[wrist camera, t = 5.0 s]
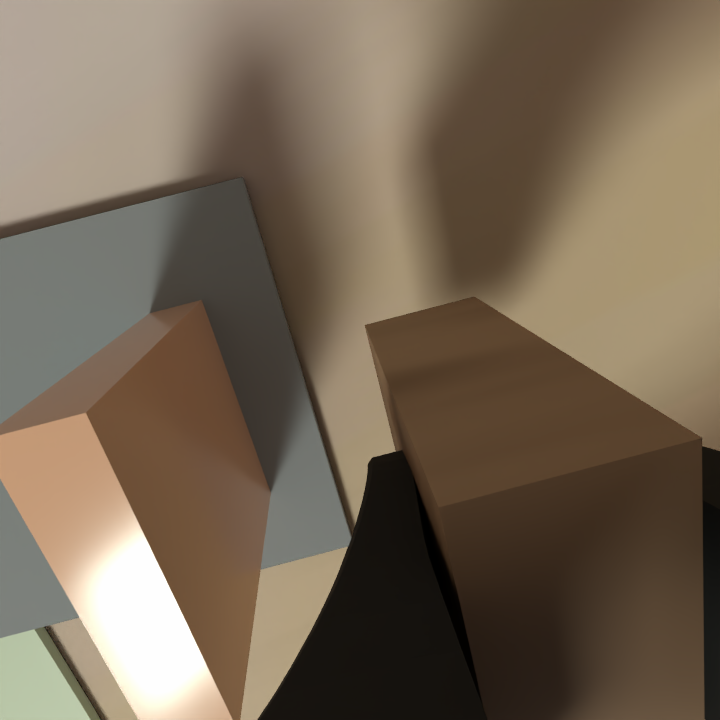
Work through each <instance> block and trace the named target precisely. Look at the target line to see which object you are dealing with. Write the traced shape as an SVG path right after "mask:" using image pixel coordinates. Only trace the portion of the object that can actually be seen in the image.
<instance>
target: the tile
mask: <svg viewBox="0 0 720 720" xmlns="http://www.w3.org/2000/svg"><path fill="white" fill-rule="evenodd" d="M0 479H1V481H2V483H3V485H4V486H5V488H6V490H7V492H8V493H9V495H10V497H11V499H12V500H13V502H14V504H15V506H16V507H17V509H18V511H19V513H20V514H21V516H22V518H23V520H24V521H25V523H26V525H27V526H28V528H29V530H30V532H31V533H32V535H33V537H34V539H35V540H36V542H37V544H38V546H39V547H40V549H41V551H42V553H43V554H44V556H45V558H46V560H47V561H48V563H49V565H50V567H51V568H52V570H53V572H54V573H55V575H56V577H57V579H58V580H59V582H60V584H61V586H62V587H63V589H64V591H65V593H66V594H67V596H68V598H69V600H70V601H71V603H72V605H73V607H74V608H75V610H76V612H77V614H78V615H79V617H80V619H81V621H82V622H83V624H84V626H85V627H86V629H87V631H88V633H89V634H90V636H91V638H92V640H93V641H94V643H95V645H96V647H97V648H98V650H99V652H100V654H101V655H102V657H103V659H104V661H105V662H106V664H107V666H108V668H109V669H110V671H111V673H112V674H113V676H114V678H115V680H116V681H117V683H118V685H119V687H120V688H121V690H122V692H123V694H124V695H125V697H126V699H127V701H128V702H129V704H130V706H131V708H132V709H133V711H134V713H135V715H136V716H137V718H138V720H240V717H241V709H242V702H243V695H244V687H245V680H246V672H247V665H248V658H249V650H250V643H251V636H252V628H253V621H254V614H255V606H256V599H257V591H258V584H259V577H260V569H261V562H262V555H263V547H264V540H265V533H266V525H267V518H268V510H269V503H270V496H271V492H270V489H269V486H268V484H267V481H266V478H265V475H264V472H263V470H262V467H261V464H260V461H259V458H258V456H257V453H256V450H255V447H254V444H253V442H252V439H251V436H250V433H249V431H248V428H247V425H246V422H245V419H244V417H243V414H242V411H241V408H240V405H239V403H238V400H237V397H236V394H235V391H234V389H233V386H232V383H231V380H230V377H229V375H228V372H227V369H226V366H225V364H224V361H223V358H222V355H221V352H220V350H219V347H218V344H217V341H216V338H215V336H214V333H213V330H212V327H211V324H210V322H209V319H208V316H207V313H206V310H205V308H204V305H203V302H202V300H199V301H195V302H191V303H187V304H184V305H180V306H176V307H172V308H168V309H164V310H160V311H156V312H153V313H149V314H148V315H147V316H145V317H144V318H143V319H141V320H140V321H139V322H137V323H136V324H134V325H133V326H132V327H130V328H129V329H128V330H126V331H125V332H124V333H122V334H121V335H120V336H118V337H117V338H116V339H114V340H113V341H112V342H110V343H109V344H108V345H106V346H105V347H104V348H102V349H101V350H100V351H98V352H97V353H96V354H94V355H93V356H91V357H90V358H89V359H87V360H86V361H85V362H83V363H82V364H81V365H79V366H78V367H77V368H75V369H74V370H73V371H71V372H70V373H69V374H67V375H66V376H65V377H63V378H62V379H61V380H59V381H58V382H57V383H55V384H54V385H53V386H51V387H50V388H48V389H47V390H46V391H44V392H43V393H42V394H40V395H39V396H38V397H36V398H35V399H34V400H32V401H31V402H30V403H28V404H27V405H26V406H24V407H23V408H22V409H20V410H19V411H18V412H16V413H15V414H14V415H12V416H11V417H9V418H8V419H7V420H5V421H4V422H3V423H1V424H0Z"/></svg>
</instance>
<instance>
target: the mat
mask: <svg viewBox="0 0 720 720" xmlns="http://www.w3.org/2000/svg"><path fill="white" fill-rule="evenodd" d="M199 300H202V302H203V305H204V308H205V310H206V313H207V316H208V319H209V322H210V324H211V327H212V330H213V333H214V336H215V338H216V341H217V344H218V347H219V350H220V352H221V355H222V358H223V361H224V364H225V366H226V369H227V372H228V375H229V377H230V380H231V383H232V386H233V389H234V391H235V394H236V397H237V400H238V403H239V405H240V408H241V411H242V414H243V417H244V419H245V422H246V425H247V428H248V431H249V433H250V436H251V439H252V442H253V444H254V447H255V450H256V453H257V456H258V458H259V461H260V464H261V467H262V470H263V472H264V475H265V478H266V481H267V484H268V486H269V489H270V492H271V496H270V503H269V510H268V518H267V525H266V533H265V540H264V547H263V555H262V562H261V569H264V568H268V567H272V566H276V565H280V564H283V563H287V562H291V561H295V560H298V559H302V558H306V557H310V556H314V555H317V554H321V553H325V552H329V551H333V550H336V549H340V548H344V547H348V546H349V543H350V540H351V538H352V535H351V532H350V528H349V525H348V522H347V518H346V515H345V512H344V509H343V505H342V502H341V499H340V495H339V492H338V489H337V485H336V482H335V479H334V475H333V472H332V469H331V466H330V462H329V459H328V456H327V452H326V449H325V446H324V442H323V439H322V436H321V433H320V429H319V426H318V423H317V419H316V416H315V413H314V409H313V406H312V403H311V399H310V396H309V393H308V390H307V386H306V383H305V380H304V376H303V373H302V370H301V366H300V363H299V360H298V356H297V353H296V350H295V347H294V343H293V340H292V337H291V333H290V330H289V327H288V323H287V320H286V317H285V313H284V310H283V307H282V304H281V300H280V297H279V294H278V290H277V287H276V284H275V280H274V277H273V274H272V271H271V267H270V264H269V261H268V257H267V254H266V251H265V247H264V244H263V241H262V237H261V234H260V231H259V228H258V224H257V221H256V218H255V214H254V211H253V208H252V204H251V201H250V198H249V194H248V191H247V188H246V185H245V181H244V178H243V177H240V178H237V179H233V180H229V181H225V182H221V183H217V184H213V185H209V186H205V187H201V188H198V189H194V190H190V191H186V192H182V193H178V194H174V195H170V196H166V197H162V198H159V199H155V200H151V201H147V202H143V203H139V204H135V205H131V206H127V207H123V208H120V209H116V210H112V211H108V212H104V213H100V214H96V215H92V216H88V217H84V218H81V219H77V220H73V221H69V222H65V223H61V224H57V225H53V226H49V227H45V228H41V229H38V230H34V231H30V232H26V233H22V234H18V235H14V236H10V237H6V238H2V239H0V424H1V423H3V422H4V421H5V420H7V419H8V418H9V417H11V416H12V415H14V414H15V413H16V412H18V411H19V410H20V409H22V408H23V407H24V406H26V405H27V404H28V403H30V402H31V401H32V400H34V399H35V398H36V397H38V396H39V395H40V394H42V393H43V392H44V391H46V390H47V389H48V388H50V387H51V386H53V385H54V384H55V383H57V382H58V381H59V380H61V379H62V378H63V377H65V376H66V375H67V374H69V373H70V372H71V371H73V370H74V369H75V368H77V367H78V366H79V365H81V364H82V363H83V362H85V361H86V360H87V359H89V358H90V357H91V356H93V355H94V354H96V353H97V352H98V351H100V350H101V349H102V348H104V347H105V346H106V345H108V344H109V343H110V342H112V341H113V340H114V339H116V338H117V337H118V336H120V335H121V334H122V333H124V332H125V331H126V330H128V329H129V328H130V327H132V326H133V325H134V324H136V323H137V322H139V321H140V320H141V319H143V318H144V317H145V316H147V315H148V314H149V313H153V312H156V311H160V310H164V309H168V308H172V307H176V306H180V305H184V304H187V303H191V302H195V301H199ZM261 569H260V570H261ZM75 618H79V615H78V614H77V612H76V610H75V608H74V607H73V605H72V603H71V601H70V600H69V598H68V596H67V594H66V593H65V591H64V589H63V587H62V586H61V584H60V582H59V580H58V579H57V577H56V575H55V573H54V572H53V570H52V568H51V567H50V565H49V563H48V561H47V560H46V558H45V556H44V554H43V553H42V551H41V549H40V547H39V546H38V544H37V542H36V540H35V539H34V537H33V535H32V533H31V532H30V530H29V528H28V526H27V525H26V523H25V521H24V520H23V518H22V516H21V514H20V513H19V511H18V509H17V507H16V506H15V504H14V502H13V500H12V499H11V497H10V495H9V493H8V492H7V490H6V488H5V486H4V485H3V483H2V481H1V479H0V638H3V637H7V636H11V635H15V634H18V633H22V632H26V631H30V630H33V629H37V628H41V627H45V626H49V625H52V624H56V623H60V622H64V621H68V620H71V619H75Z"/></svg>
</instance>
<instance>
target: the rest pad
mask: <svg viewBox="0 0 720 720" xmlns="http://www.w3.org/2000/svg"><path fill="white" fill-rule="evenodd" d="M0 720H101V719H100V717H99V716H98V714H97V713H96V711H95V709H94V708H93V706H92V704H91V703H90V701H89V699H88V698H87V696H86V695H85V693H84V691H83V690H82V688H81V686H80V685H79V683H78V681H77V680H76V678H75V677H74V675H73V673H72V672H71V670H70V668H69V667H68V665H67V664H66V662H65V660H64V659H63V657H62V655H61V654H60V652H59V650H58V649H57V647H56V646H55V644H54V642H53V641H52V639H51V637H50V636H49V634H48V632H47V631H46V629H45V628H44V627H41V628H37V629H33V630H30V631H26V632H22V633H18V634H15V635H11V636H7V637H3V638H0Z"/></svg>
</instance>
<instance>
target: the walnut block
mask: <svg viewBox="0 0 720 720" xmlns="http://www.w3.org/2000/svg"><path fill="white" fill-rule="evenodd" d="M365 328H366V332H367V336H368V340H369V344H370V348H371V352H372V357H373V361H374V365H375V369H376V373H377V377H378V381H379V385H380V389H381V393H382V397H383V401H384V405H385V409H386V413H387V417H388V421H389V425H390V429H391V433H392V437H393V442H394V446H395V450H396V451H400V450H402V451H403V453H404V455H405V457H406V459H407V462H408V464H409V466H410V469H411V471H412V474H413V478H414V482H415V486H416V490H417V495H418V499H419V503H420V507H421V511H422V516H423V520H424V524H425V528H426V532H427V537H428V541H429V545H430V549H431V553H432V558H433V562H434V566H435V570H436V574H437V579H438V583H439V587H440V590H441V593H442V596H443V599H444V602H445V604H446V607H447V610H448V613H449V616H450V618H451V621H452V624H453V627H454V630H455V632H456V635H457V638H458V641H459V644H460V646H461V649H462V652H463V655H464V657H465V660H466V663H467V665H468V668H469V671H470V673H471V676H472V679H473V682H474V684H475V687H476V690H477V692H478V695H479V698H480V700H481V703H482V706H483V709H484V711H485V714H486V717H487V719H488V720H705V718H704V610H703V502H702V438H701V437H699V436H698V435H696V434H695V433H693V432H691V431H690V430H688V429H687V428H685V427H683V426H682V425H680V424H678V423H677V422H675V421H674V420H672V419H670V418H669V417H667V416H666V415H664V414H662V413H661V412H659V411H658V410H656V409H654V408H653V407H651V406H649V405H648V404H646V403H645V402H643V401H641V400H640V399H638V398H637V397H635V396H633V395H632V394H630V393H629V392H627V391H625V390H624V389H622V388H620V387H619V386H617V385H616V384H614V383H612V382H611V381H609V380H608V379H606V378H604V377H603V376H601V375H600V374H598V373H596V372H595V371H593V370H591V369H590V368H588V367H587V366H585V365H583V364H582V363H580V362H579V361H577V360H575V359H574V358H572V357H571V356H569V355H567V354H566V353H564V352H563V351H561V350H559V349H558V348H556V347H554V346H553V345H551V344H550V343H548V342H546V341H545V340H543V339H542V338H540V337H538V336H537V335H535V334H534V333H532V332H530V331H529V330H527V329H525V328H524V327H522V326H521V325H519V324H517V323H516V322H514V321H513V320H511V319H509V318H508V317H506V316H505V315H503V314H501V313H500V312H498V311H496V310H495V309H493V308H492V307H490V306H488V305H487V304H485V303H484V302H482V301H480V300H479V299H477V298H476V297H471V298H467V299H463V300H460V301H456V302H452V303H448V304H444V305H440V306H437V307H433V308H429V309H425V310H421V311H417V312H413V313H410V314H406V315H402V316H398V317H394V318H390V319H386V320H383V321H379V322H375V323H371V324H367V325H365Z"/></svg>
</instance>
